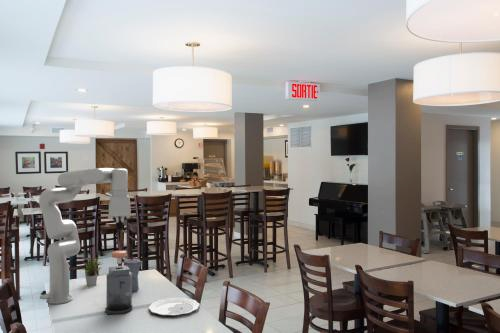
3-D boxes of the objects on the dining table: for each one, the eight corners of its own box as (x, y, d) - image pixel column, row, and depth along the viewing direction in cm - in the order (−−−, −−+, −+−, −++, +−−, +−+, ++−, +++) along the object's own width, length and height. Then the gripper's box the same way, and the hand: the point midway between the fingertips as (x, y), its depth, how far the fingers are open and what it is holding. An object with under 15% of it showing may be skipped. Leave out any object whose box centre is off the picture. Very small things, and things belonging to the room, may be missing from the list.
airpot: (109, 319, 197) (109, 274, 197) (102, 306, 213) (102, 265, 213) (137, 314, 203) (137, 271, 203) (128, 302, 220) (128, 262, 219)
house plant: (98, 289, 242) (98, 261, 241) (74, 289, 242) (74, 261, 241) (107, 282, 256) (107, 255, 256) (84, 282, 256) (85, 255, 256)
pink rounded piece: (113, 266, 204) (113, 254, 204) (110, 262, 210) (110, 251, 210) (128, 264, 207) (128, 252, 207) (124, 261, 213) (124, 250, 213)
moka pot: (138, 294, 234) (138, 258, 233) (113, 292, 237) (113, 257, 237) (146, 289, 243) (146, 254, 243) (121, 287, 246) (122, 253, 246)
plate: (156, 322, 194) (156, 318, 194) (143, 305, 217) (143, 301, 217) (206, 313, 206) (206, 309, 206) (189, 298, 228) (189, 294, 228)
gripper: (105, 194, 201) (105, 232, 201) (136, 193, 208) (136, 230, 209) (102, 193, 208) (102, 230, 208) (132, 192, 215) (132, 228, 215)
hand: (119, 230), depth 208 cm, fingers closed
